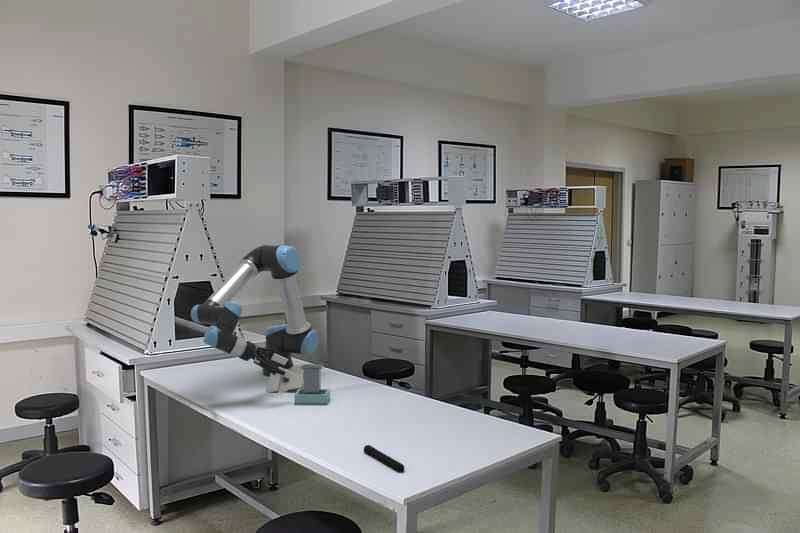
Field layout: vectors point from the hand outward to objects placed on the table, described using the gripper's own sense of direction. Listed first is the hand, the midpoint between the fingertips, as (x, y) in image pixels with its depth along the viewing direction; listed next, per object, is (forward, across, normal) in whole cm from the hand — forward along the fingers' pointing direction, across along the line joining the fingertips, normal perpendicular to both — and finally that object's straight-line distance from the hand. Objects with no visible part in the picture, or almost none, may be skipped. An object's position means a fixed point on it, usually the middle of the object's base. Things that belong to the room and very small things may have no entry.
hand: (288, 368), depth 252 cm
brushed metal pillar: (+11, +12, -4) cm, 17 cm away
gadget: (+12, +79, +11) cm, 81 cm away
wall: (+8, -11, -12) cm, 18 cm away
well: (+12, +12, -5) cm, 17 cm away
